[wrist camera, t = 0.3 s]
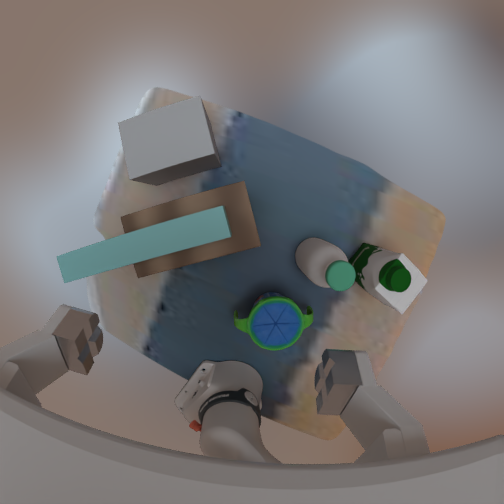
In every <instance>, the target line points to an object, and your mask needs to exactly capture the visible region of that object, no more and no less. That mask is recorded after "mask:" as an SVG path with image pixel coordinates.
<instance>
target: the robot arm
mask: <svg viewBox="0 0 504 504" xmlns="http://www.w3.org/2000/svg"><path fill="white" fill-rule="evenodd" d="M99 322H100V321H99V317H98V314H96V313H93V312H89V311H86V310H82V309H79V308H75V307H71V306H67V305H64V304H63V305H61V306H60V307H59V308H58V309H57V310H56V312H55V313H54V314H53V315H52V317H51V318H50V319H49V321H48V322H47V323H46V325H45V326H44V328H43V329H42V330H41V331H39V330H37V331H35V332H33V333H31V334H29V335H26V336H24V337H22V338H20V339H18V340H16V341H14V342H12V343H10V344H7V345H5V346H3V347H1V348H0V504H504V435H497V436H494V437H491V438H488V439H485V440H481V441H478V442H475V443H471V444H467V445H463V446H459V447H456V448H451V449H447V450H443V451H438V452H433V453H430V451H429V447H428V444H427V440H426V436H425V433H424V430H423V426H422V424H421V423H420V422H419V421H418V420H416V419H415V418H414V417H413V416H412V415H411V414H410V413H409V412H408V411H407V410H406V409H405V408H404V407H403V406H401V404H400V403H398V402H397V401H396V400H395V399H394V398H393V397H392V396H391V395H390V394H389V393H388V392H387V391H385V389H384V388H383V387H382V386H377V383H376V380H375V376H374V373H373V369H372V366H371V362H370V359H369V356H368V353H367V352H366V351H355V350H353V351H352V350H335V349H326V350H325V351H324V352H323V355H322V361H323V362H322V363H320V364H318V367H317V370H316V374H315V390H316V391H317V392H318V393H319V394H318V396H317V398H316V403H317V413H318V414H323V415H340V417H341V418H342V420H343V421H344V422H345V424H346V425H347V427H348V428H349V429H350V431H351V432H352V433H353V435H354V436H355V437H356V439H357V440H358V441H359V443H360V444H361V445H362V447H363V448H364V449H365V452H364V453H363V454H362V455H361V456H360V457H359V458H358V459H357V460H356V461H355V462H354V463H343V464H283V463H281V462H280V461H278V460H277V459H276V458H274V457H273V456H272V455H271V454H270V453H269V452H268V450H266V448H265V447H264V445H263V443H262V439H261V435H260V429H259V428H260V425H261V415H260V409H261V408H262V401H261V394H262V390H263V382H262V379H261V376H260V375H259V373H258V372H257V371H256V370H255V369H254V368H253V367H251V366H250V365H248V364H245V363H243V362H239V361H223V362H214V361H208V360H205V361H203V362H202V363H201V364H200V365H199V367H198V368H197V369H196V371H195V372H194V373H193V375H192V376H191V378H190V379H189V380H188V382H187V383H186V384H185V386H184V387H183V388H182V390H181V391H180V392H179V394H178V395H177V397H176V398H175V404H176V406H177V408H178V410H179V411H180V412H181V413H182V414H183V415H184V417H185V419H186V420H187V421H188V422H189V423H190V425H189V426H190V428H192V429H194V430H195V431H201V434H200V447H201V450H202V452H203V453H204V455H205V456H203V455H197V454H191V453H185V452H180V451H175V450H171V449H166V448H162V447H157V446H153V445H149V444H145V443H141V442H137V441H133V440H130V439H127V438H123V437H120V436H116V435H113V434H110V433H107V432H104V431H101V430H98V429H94V428H91V427H89V426H86V425H83V424H80V423H78V422H75V421H73V420H70V419H67V418H65V417H62V416H60V415H57V414H55V413H53V412H51V411H48V410H46V409H44V408H42V406H41V403H40V402H39V400H38V398H37V397H36V394H37V393H38V392H40V391H41V390H42V389H44V388H45V387H47V386H48V385H50V384H51V383H52V382H54V381H55V380H56V379H58V378H59V377H61V376H62V375H63V374H65V373H66V372H68V370H71V371H74V372H77V373H81V374H84V375H88V373H89V371H90V369H91V367H92V365H93V363H94V361H93V357H94V356H96V355H97V354H99V352H100V350H101V348H102V344H103V333H102V330H101V329H100V328H99V327H98V323H99ZM203 368H204V369H205V370H202V369H203ZM181 407H183V408H181Z"/></svg>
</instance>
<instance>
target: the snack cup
mask: <svg viewBox="0 0 504 504" xmlns="http://www.w3.org/2000/svg"><path fill="white" fill-rule="evenodd" d="M312 322H313V310H312V308H311V307H310V306H308V307H307V315H305V314H303V313H302V312H301V310H300V308H299V307H298V305H297V304H296V303H294V302H293V300H292V299H290V298H286V297H284V296H283V295H281V294H279V293H276V292H268V293H264V294H262V295H261V296H260V297H258V298H257V300H256V301H255V303H254V305H253V308H252V310H251V311H250V314H249V316H248V317H247V318H245V319H238V312H237V310H236V311H235V312H234V325H235V326H236V327H237V328H238V329H239V330H241V331H243V332H246V333H248V334H249V335H250V337H251V339H252V340H253V341H254V342H255V343H256V344H257V345H258V346H260V347H261V348H263V349H267V350H281V349H285V348H287V347H289V346H291V345H292V344H294V343H295V342H296V341H297V340H298V339H299V337H300V336H301V334H302V331H303V330H304V329H305V328H307V327H308V326H310V325H311V324H312Z"/></svg>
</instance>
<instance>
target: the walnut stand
mask: <svg viewBox="0 0 504 504" xmlns="http://www.w3.org/2000/svg"><path fill="white" fill-rule="evenodd" d="M219 206H225V210H226V214H227V217H228V221H229V225H230V229H231V233H232V235H231V237H229V238H225V239H222V240H218V241H214V242H210V243H207V244H203V245H199V246H195V247H192V248H188V249H184V250H181V251H177V252H173V253H170V254H166V255H162V256H159V257H155V258H151V259H148V260H144V261H141V262H137V263H133V264H134V267H135V270H136V273H137V277H138V278H140V277H144V276H148V275H152V274H156V273H159V272H163V271H167V270H171V269H175V268H178V267H182V266H186V265H190V264H194V263H198V262H201V261H205V260H209V259H213V258H217V257H220V256H224V255H228V254H232V253H236V252H240V251H243V250H247V249H251V248H255V247H259V246H261V244H260V240H259V236H258V232H257V228H256V224H255V220H254V216H253V212H252V209H251V205H250V201H249V197H248V193H247V189H246V186H245V182H244V181H242V182H238V183H234V184H230V185H226V186H223V187H219V188H215V189H212V190H208V191H204V192H201V193H197V194H194V195H190V196H187V197H183V198H180V199H177V200H173V201H170V202H167V203H163V204H160V205H157V206H154V207H150V208H147V209H144V210H141V211H138V212H135V213H132V214H128V215H125V216H122V217H121V221H122V225H123V228H124V232H125V234H126V233H130V232H133V231H136V230H139V229H143V228H146V227H149V226H152V225H156V224H159V223H162V222H166V221H169V220H173V219H176V218H180V217H183V216H187V215H190V214H194V213H197V212H201V211H204V210H208V209H212V208H215V207H219Z"/></svg>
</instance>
